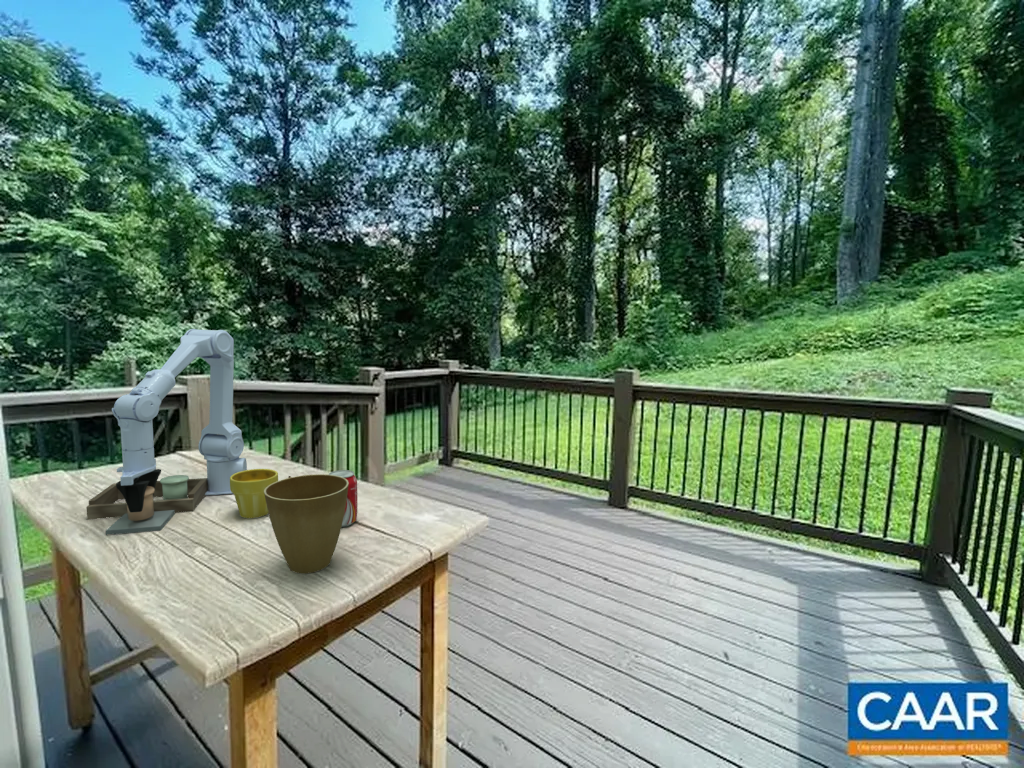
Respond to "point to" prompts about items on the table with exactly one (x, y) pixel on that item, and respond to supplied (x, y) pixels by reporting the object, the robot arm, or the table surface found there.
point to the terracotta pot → (144, 507)
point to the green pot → (175, 487)
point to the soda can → (349, 496)
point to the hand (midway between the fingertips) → (141, 506)
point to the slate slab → (141, 523)
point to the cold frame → (196, 489)
